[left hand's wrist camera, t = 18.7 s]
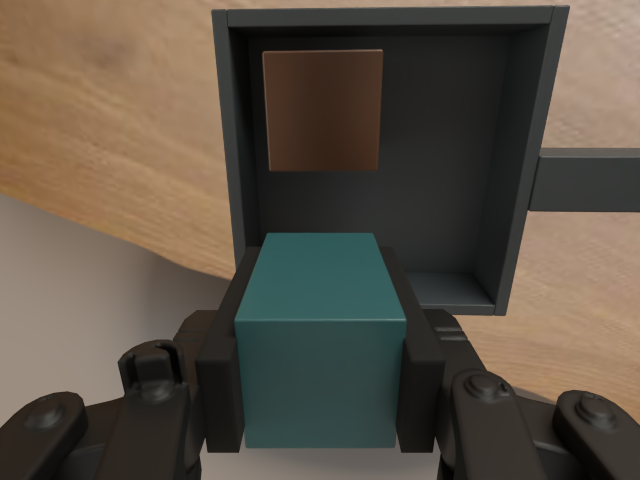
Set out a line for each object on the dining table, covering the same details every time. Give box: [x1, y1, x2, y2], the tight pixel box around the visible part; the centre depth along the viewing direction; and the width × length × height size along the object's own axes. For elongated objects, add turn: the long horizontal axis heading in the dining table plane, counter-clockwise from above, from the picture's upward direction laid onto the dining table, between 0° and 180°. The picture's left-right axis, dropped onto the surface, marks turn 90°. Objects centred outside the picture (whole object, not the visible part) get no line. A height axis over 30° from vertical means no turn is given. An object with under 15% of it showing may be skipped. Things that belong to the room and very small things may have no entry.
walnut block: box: [262, 49, 383, 172], centre depth 16 cm, size 4×4×6 cm
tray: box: [211, 5, 640, 316], centre depth 18 cm, size 26×13×4 cm, turn 90°
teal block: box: [234, 233, 407, 448], centre depth 12 cm, size 4×4×6 cm
